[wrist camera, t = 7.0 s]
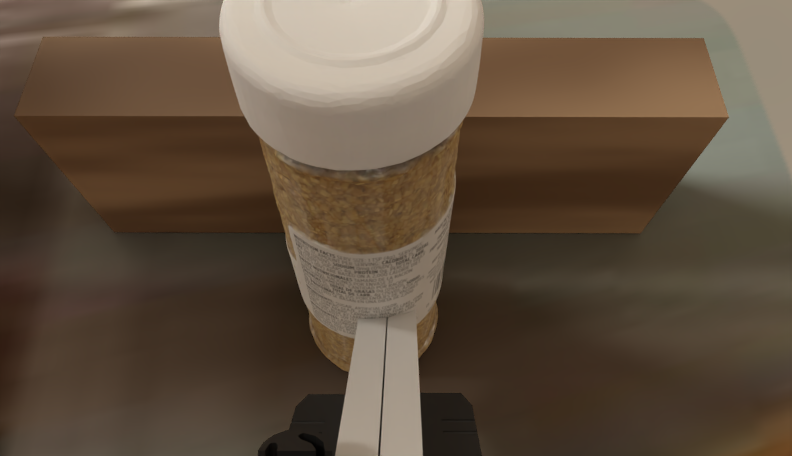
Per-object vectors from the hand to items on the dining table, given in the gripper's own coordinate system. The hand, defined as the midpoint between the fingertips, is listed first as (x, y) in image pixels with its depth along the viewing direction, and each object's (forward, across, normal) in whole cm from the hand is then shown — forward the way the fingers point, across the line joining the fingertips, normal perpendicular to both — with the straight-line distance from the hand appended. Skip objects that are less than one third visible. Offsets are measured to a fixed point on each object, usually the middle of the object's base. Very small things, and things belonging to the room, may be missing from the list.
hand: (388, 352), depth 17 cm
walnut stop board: (+8, -1, +3) cm, 8 cm away
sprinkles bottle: (+4, -1, -1) cm, 5 cm away
